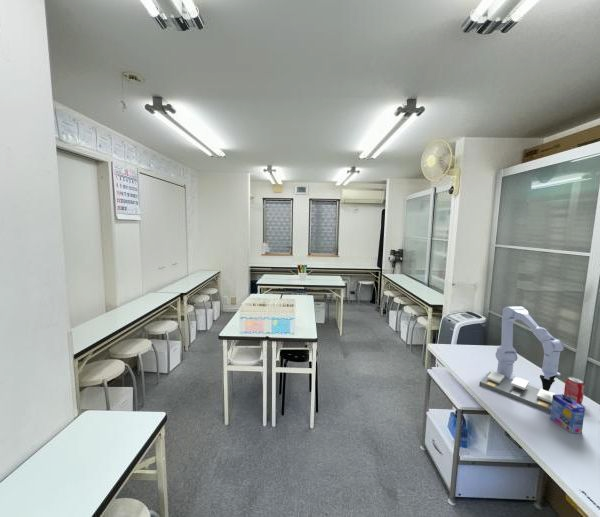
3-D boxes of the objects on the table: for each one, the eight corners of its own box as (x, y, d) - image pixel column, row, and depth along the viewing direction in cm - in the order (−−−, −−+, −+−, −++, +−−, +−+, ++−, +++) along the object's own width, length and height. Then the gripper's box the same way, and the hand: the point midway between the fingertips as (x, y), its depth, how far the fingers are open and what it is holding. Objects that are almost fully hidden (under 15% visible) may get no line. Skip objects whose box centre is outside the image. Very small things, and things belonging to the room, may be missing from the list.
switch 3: (540, 390, 147) (540, 388, 147) (555, 395, 142) (555, 393, 142) (536, 397, 140) (536, 395, 140) (552, 403, 136) (552, 401, 136)
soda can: (576, 398, 145) (579, 377, 143) (585, 407, 138) (588, 384, 137) (560, 395, 147) (563, 374, 146) (567, 403, 140) (571, 381, 139)
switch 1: (492, 373, 164) (492, 371, 163) (504, 377, 159) (504, 375, 159) (487, 378, 157) (487, 376, 157) (499, 383, 153) (499, 381, 152)
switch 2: (515, 378, 155) (515, 376, 155) (528, 383, 150) (529, 381, 150) (510, 384, 149) (511, 382, 148) (524, 389, 144) (524, 387, 144)
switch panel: (489, 374, 167) (490, 370, 167) (560, 400, 143) (561, 396, 143) (479, 384, 156) (480, 380, 156) (555, 415, 132) (555, 410, 131)
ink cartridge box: (548, 418, 129) (552, 389, 128) (559, 417, 130) (563, 389, 128) (571, 433, 120) (575, 403, 118) (582, 433, 120) (587, 402, 118)
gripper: (559, 370, 132) (555, 396, 133) (563, 361, 141) (559, 385, 143) (540, 364, 137) (536, 389, 139) (545, 356, 146) (542, 379, 148)
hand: (547, 387), depth 141 cm, fingers open, 7 cm apart
